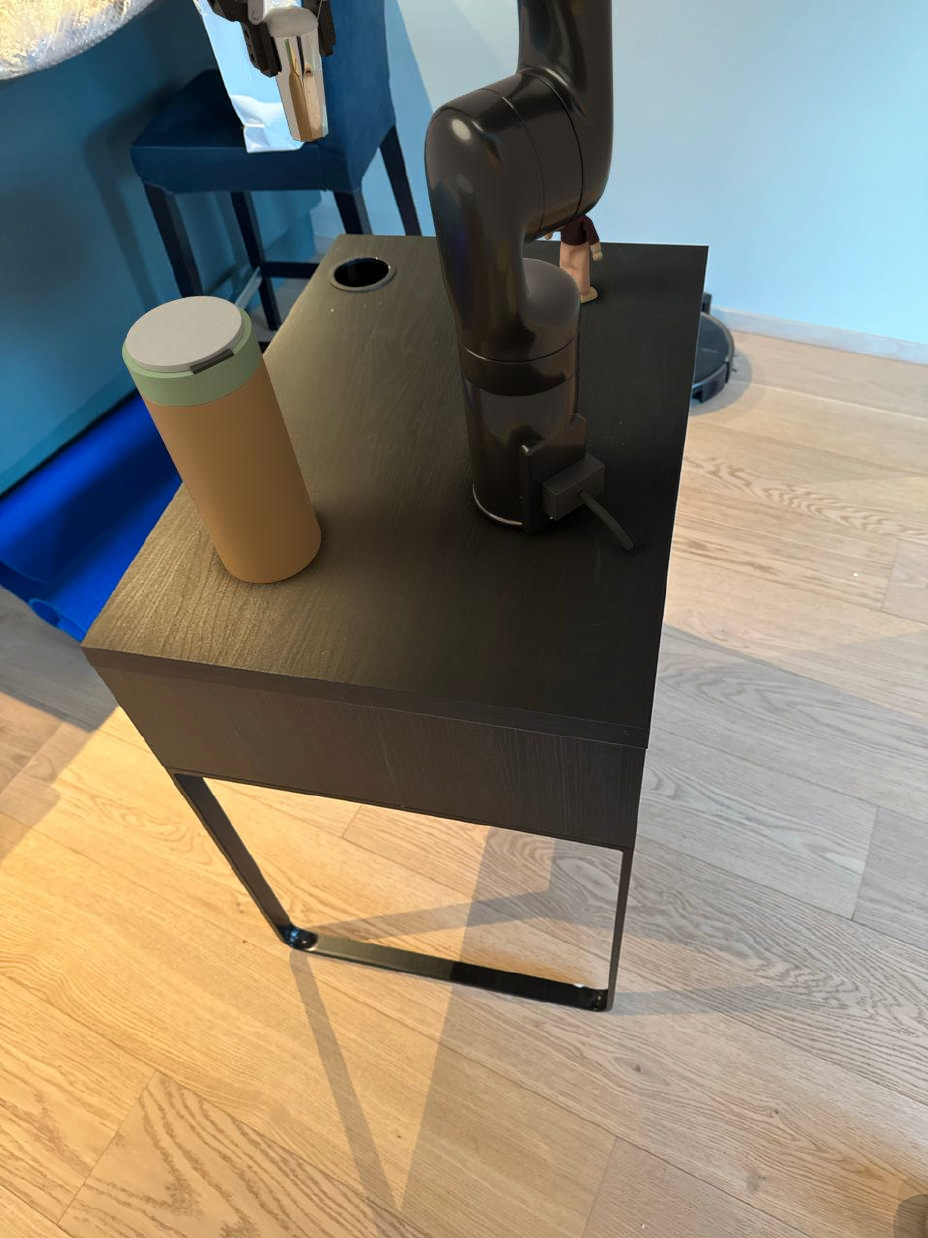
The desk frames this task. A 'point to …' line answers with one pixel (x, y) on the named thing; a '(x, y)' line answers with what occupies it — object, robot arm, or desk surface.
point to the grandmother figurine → (579, 253)
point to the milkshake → (299, 70)
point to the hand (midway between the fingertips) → (297, 62)
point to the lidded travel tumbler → (225, 434)
